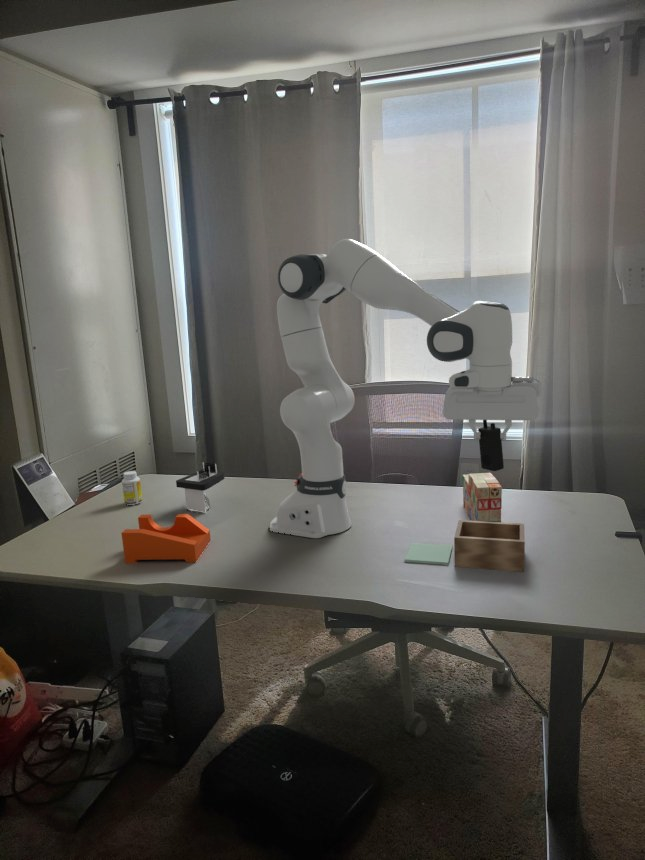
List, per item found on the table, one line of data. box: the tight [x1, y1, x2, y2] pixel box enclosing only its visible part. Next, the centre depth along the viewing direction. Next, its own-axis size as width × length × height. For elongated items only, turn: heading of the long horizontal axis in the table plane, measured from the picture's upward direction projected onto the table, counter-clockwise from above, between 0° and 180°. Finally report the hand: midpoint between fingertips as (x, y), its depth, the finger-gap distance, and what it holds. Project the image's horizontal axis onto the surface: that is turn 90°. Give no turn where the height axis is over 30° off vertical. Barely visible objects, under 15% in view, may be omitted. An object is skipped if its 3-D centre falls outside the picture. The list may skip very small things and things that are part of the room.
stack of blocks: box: [462, 472, 503, 522], centre depth 168 cm, size 21×6×12 cm, turn 177°
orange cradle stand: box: [120, 513, 212, 564], centre depth 156 cm, size 18×13×8 cm
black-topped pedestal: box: [175, 462, 226, 513], centre depth 188 cm, size 28×26×13 cm
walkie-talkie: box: [477, 420, 505, 472], centre depth 137 cm, size 5×3×15 cm
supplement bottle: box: [121, 470, 143, 506], centre depth 196 cm, size 6×6×10 cm
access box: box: [453, 519, 526, 573], centre depth 142 cm, size 15×11×7 cm
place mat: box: [404, 542, 453, 566], centre depth 147 cm, size 10×10×1 cm
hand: (489, 439), depth 137 cm, fingers closed on walkie-talkie, 4 cm apart
